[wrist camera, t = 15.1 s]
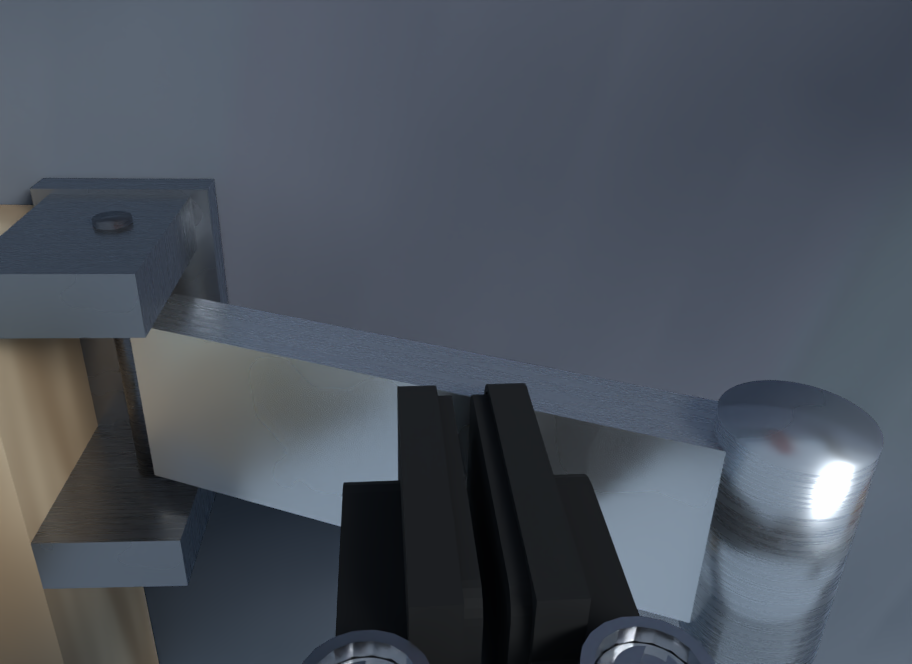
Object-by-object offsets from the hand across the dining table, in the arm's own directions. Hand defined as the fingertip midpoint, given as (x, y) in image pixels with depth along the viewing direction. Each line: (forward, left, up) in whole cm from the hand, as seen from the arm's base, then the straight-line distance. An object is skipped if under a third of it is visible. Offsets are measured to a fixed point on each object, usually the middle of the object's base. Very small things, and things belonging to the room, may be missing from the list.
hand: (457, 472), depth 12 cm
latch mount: (+5, 0, -5) cm, 8 cm away
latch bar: (-1, 0, -2) cm, 2 cm away
